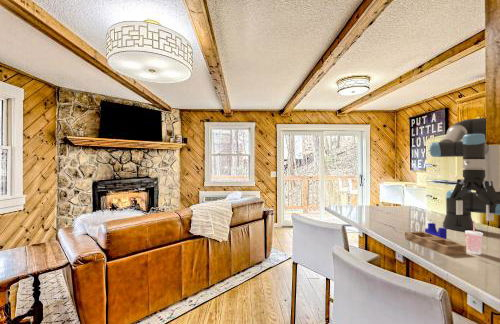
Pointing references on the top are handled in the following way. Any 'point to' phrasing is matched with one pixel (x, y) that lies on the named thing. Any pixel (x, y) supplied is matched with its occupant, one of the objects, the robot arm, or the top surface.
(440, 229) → the blue notched block
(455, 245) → the wooden holder tray
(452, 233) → the top surface
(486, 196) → the robot arm
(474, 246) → the beverage cup
